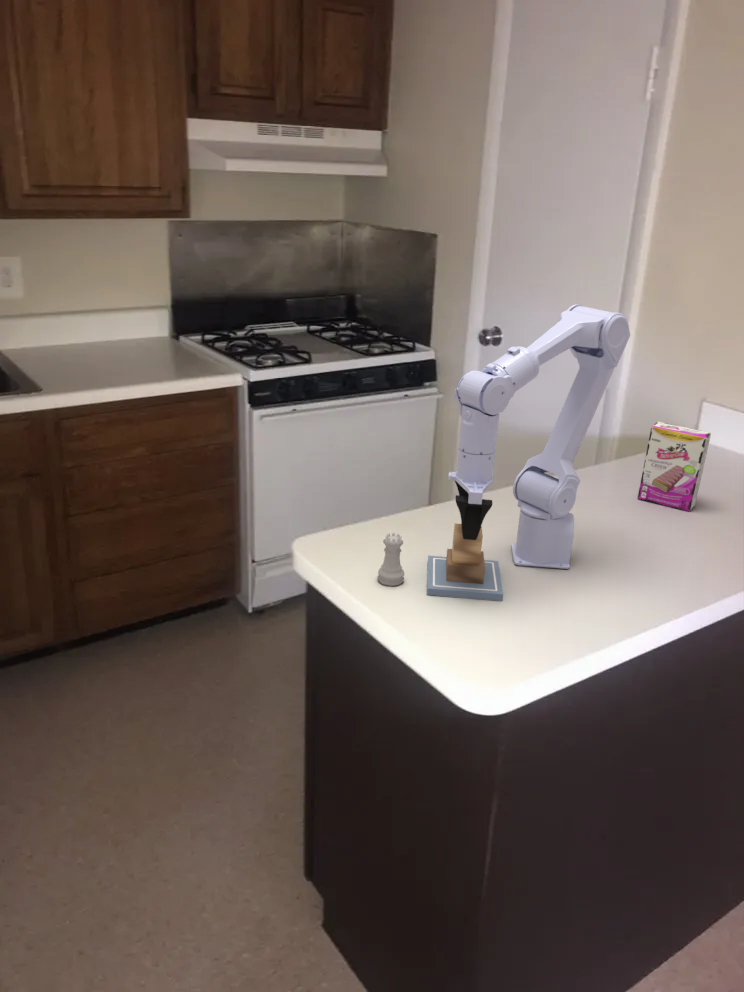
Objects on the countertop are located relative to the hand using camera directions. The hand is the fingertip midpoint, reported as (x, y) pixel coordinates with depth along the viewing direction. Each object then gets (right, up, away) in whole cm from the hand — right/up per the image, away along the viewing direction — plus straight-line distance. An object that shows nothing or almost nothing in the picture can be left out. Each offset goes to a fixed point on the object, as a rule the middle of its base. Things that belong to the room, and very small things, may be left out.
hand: (468, 528), depth 134 cm
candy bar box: (+47, +4, +41) cm, 62 cm away
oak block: (0, -5, +2) cm, 5 cm away
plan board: (0, -9, +4) cm, 9 cm away
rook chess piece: (-13, -9, +2) cm, 15 cm away
